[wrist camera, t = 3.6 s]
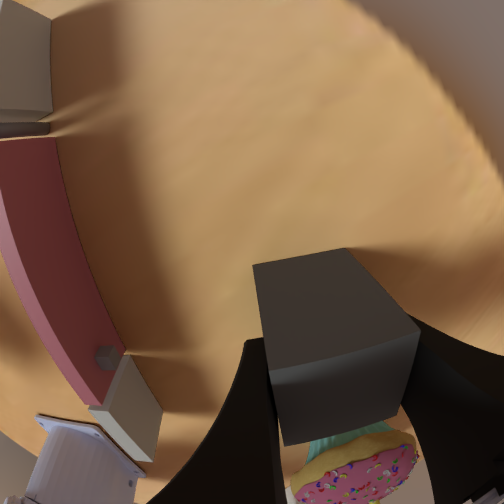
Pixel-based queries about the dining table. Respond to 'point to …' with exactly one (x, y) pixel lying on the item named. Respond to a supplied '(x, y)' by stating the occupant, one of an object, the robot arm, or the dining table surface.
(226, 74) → the dining table surface
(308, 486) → the cupcake
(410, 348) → the dark grey block
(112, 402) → the wall frame
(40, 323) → the door
